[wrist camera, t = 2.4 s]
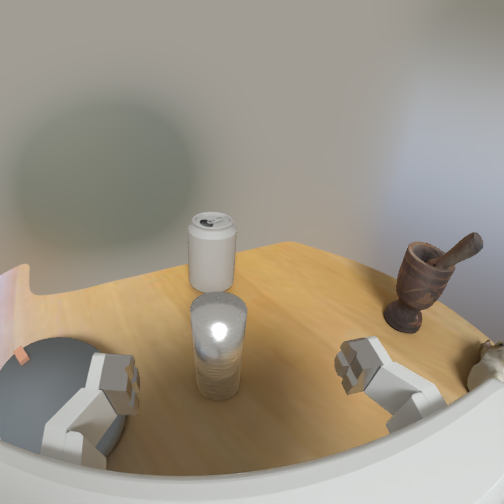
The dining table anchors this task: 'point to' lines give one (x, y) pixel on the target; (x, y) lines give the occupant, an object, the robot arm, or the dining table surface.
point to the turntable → (45, 391)
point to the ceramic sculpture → (487, 365)
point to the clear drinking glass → (218, 343)
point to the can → (211, 252)
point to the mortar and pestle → (425, 280)
